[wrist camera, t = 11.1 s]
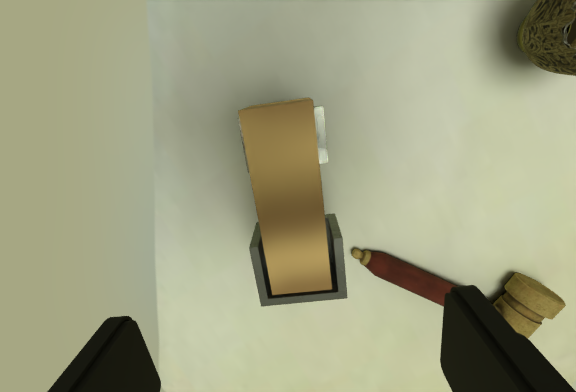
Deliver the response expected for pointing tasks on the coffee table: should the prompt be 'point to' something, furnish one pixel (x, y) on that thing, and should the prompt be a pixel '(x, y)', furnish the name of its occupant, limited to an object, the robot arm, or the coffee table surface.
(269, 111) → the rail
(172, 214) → the coffee table surface
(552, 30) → the cup
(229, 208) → the coffee table surface
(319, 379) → the coffee table surface
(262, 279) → the cup bracket
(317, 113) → the grey tabbed slab
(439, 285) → the gavel
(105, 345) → the robot arm
